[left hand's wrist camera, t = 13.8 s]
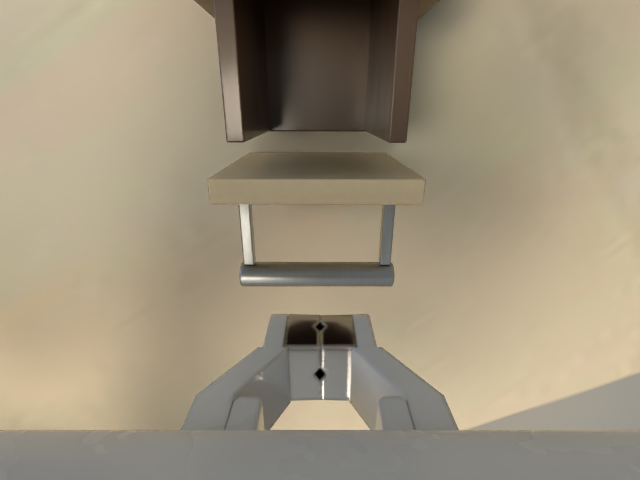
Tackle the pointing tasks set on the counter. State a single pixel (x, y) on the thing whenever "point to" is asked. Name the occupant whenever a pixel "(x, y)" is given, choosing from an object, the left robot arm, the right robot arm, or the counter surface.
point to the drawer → (316, 118)
